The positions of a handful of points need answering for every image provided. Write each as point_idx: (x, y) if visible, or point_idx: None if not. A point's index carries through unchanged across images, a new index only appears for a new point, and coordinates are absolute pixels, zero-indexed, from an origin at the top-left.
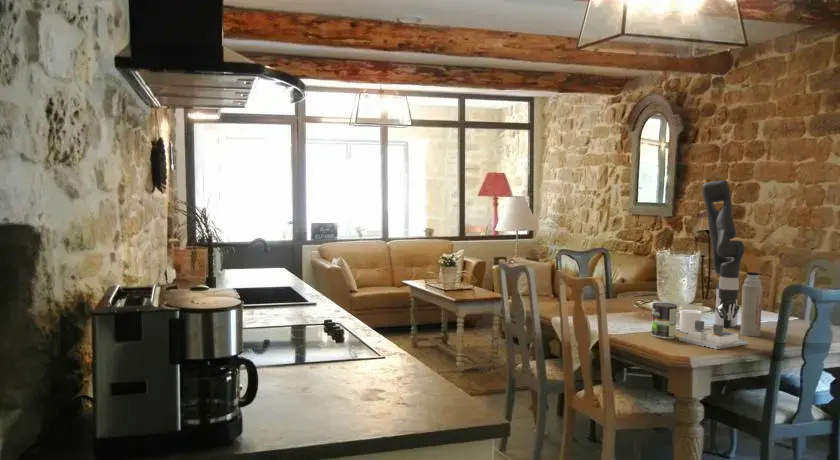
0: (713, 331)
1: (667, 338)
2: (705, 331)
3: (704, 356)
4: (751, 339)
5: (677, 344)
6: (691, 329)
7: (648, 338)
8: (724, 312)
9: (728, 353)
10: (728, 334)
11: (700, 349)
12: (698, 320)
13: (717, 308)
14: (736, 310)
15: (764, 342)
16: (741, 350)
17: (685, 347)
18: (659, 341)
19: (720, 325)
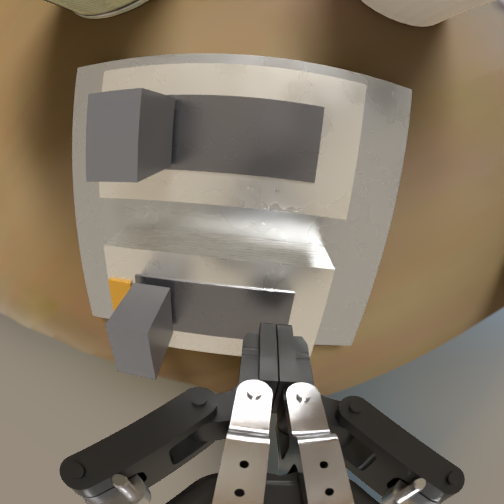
0: (130, 290)
1: (82, 16)
2: (165, 188)
3: (13, 317)
4: (461, 290)
5: (22, 143)
6: (130, 75)
7: (28, 4)
8: (157, 478)
9: (104, 355)
10: (232, 339)
11: (44, 262)
12: (121, 108)
13: (67, 477)
14: (378, 485)
15: (433, 344)
16: (195, 369)
17: (16, 204)
18: (12, 65)
19: (130, 370)
